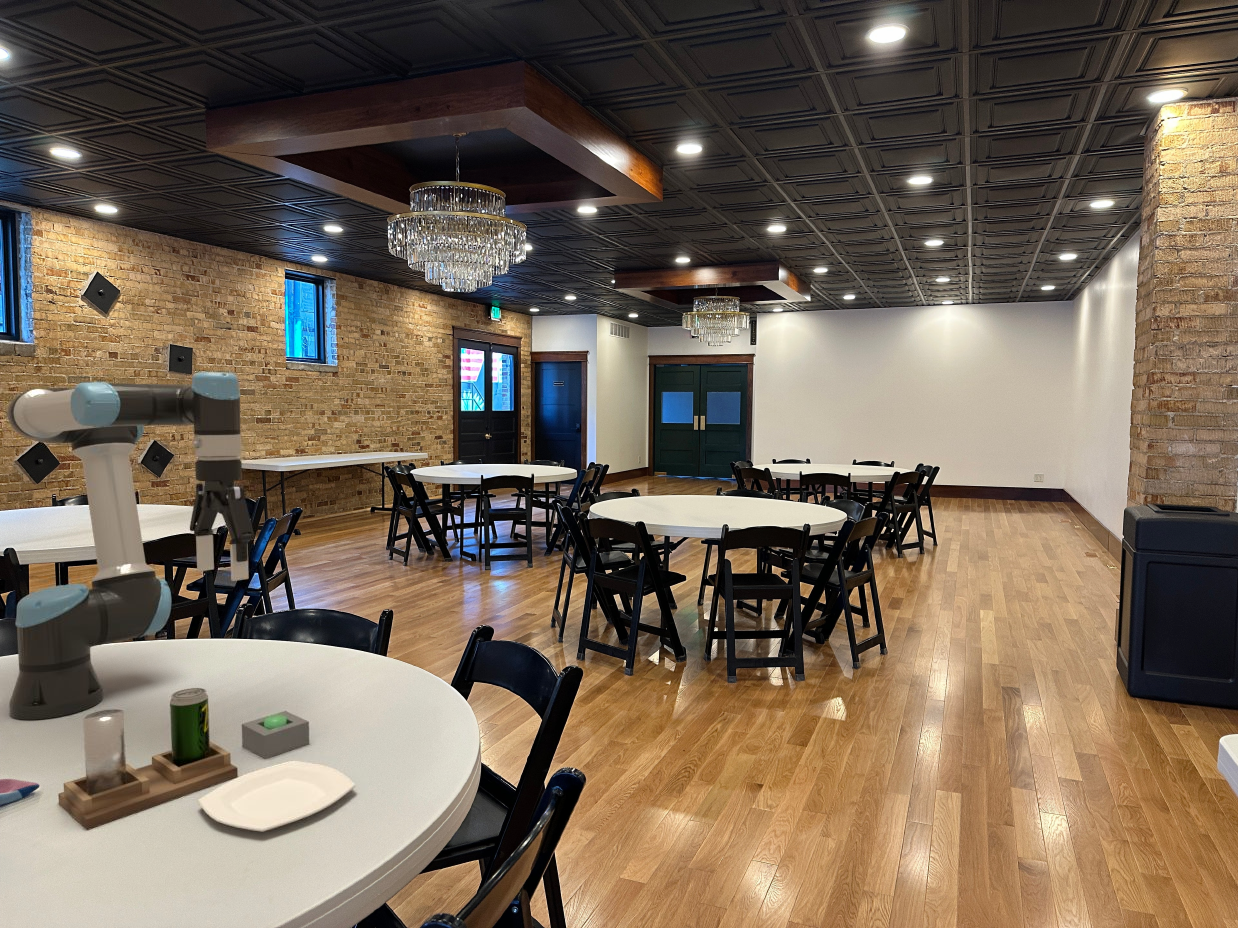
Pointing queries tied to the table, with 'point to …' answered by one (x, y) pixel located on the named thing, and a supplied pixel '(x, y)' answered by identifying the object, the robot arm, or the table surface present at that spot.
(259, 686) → the table surface
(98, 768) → the cylinder
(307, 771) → the plate
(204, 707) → the green drink can
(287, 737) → the grey square socket block
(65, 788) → the wooden tray
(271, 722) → the button
